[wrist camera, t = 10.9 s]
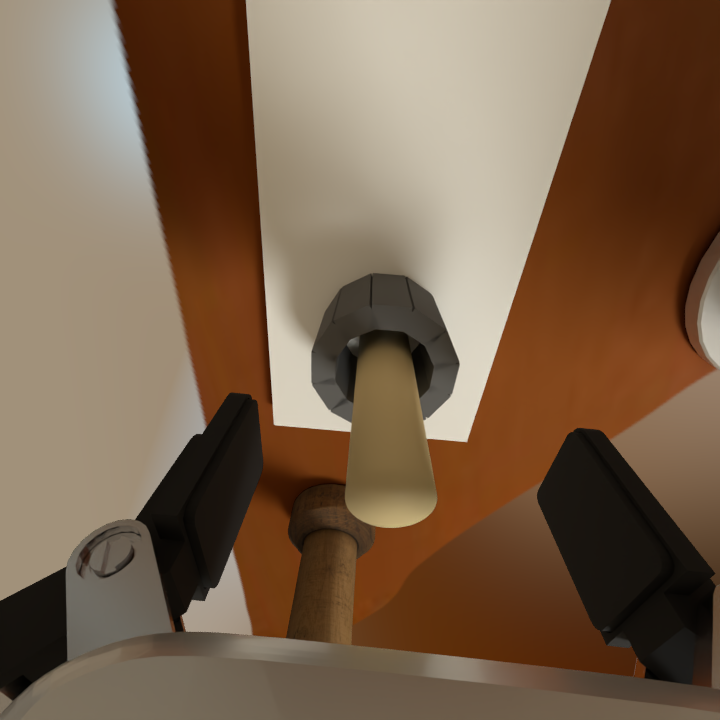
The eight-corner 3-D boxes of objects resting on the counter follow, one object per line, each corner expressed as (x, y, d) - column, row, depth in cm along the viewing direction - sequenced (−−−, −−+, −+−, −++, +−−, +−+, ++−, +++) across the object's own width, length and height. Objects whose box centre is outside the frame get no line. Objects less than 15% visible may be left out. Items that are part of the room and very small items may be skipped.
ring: (452, 279, 16) (473, 312, 12) (429, 384, 19) (441, 434, 16) (325, 269, 16) (311, 299, 12) (323, 375, 19) (311, 423, 16)
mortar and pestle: (362, 476, 25) (339, 977, 10) (384, 528, 28) (394, 970, 13) (280, 491, 26) (147, 956, 11) (310, 538, 30) (239, 954, 14)
